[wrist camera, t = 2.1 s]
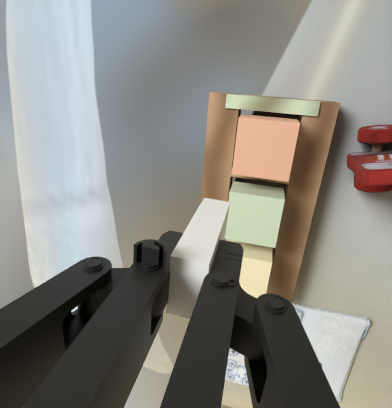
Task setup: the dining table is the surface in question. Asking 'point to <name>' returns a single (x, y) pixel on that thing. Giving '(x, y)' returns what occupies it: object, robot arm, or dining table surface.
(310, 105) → the board
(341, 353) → the printed paper napkins
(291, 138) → the salmon orange square block
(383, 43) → the dining table surface
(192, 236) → the robot arm
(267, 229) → the pale green square block
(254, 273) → the cream yellow square block
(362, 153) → the toy fire truck
